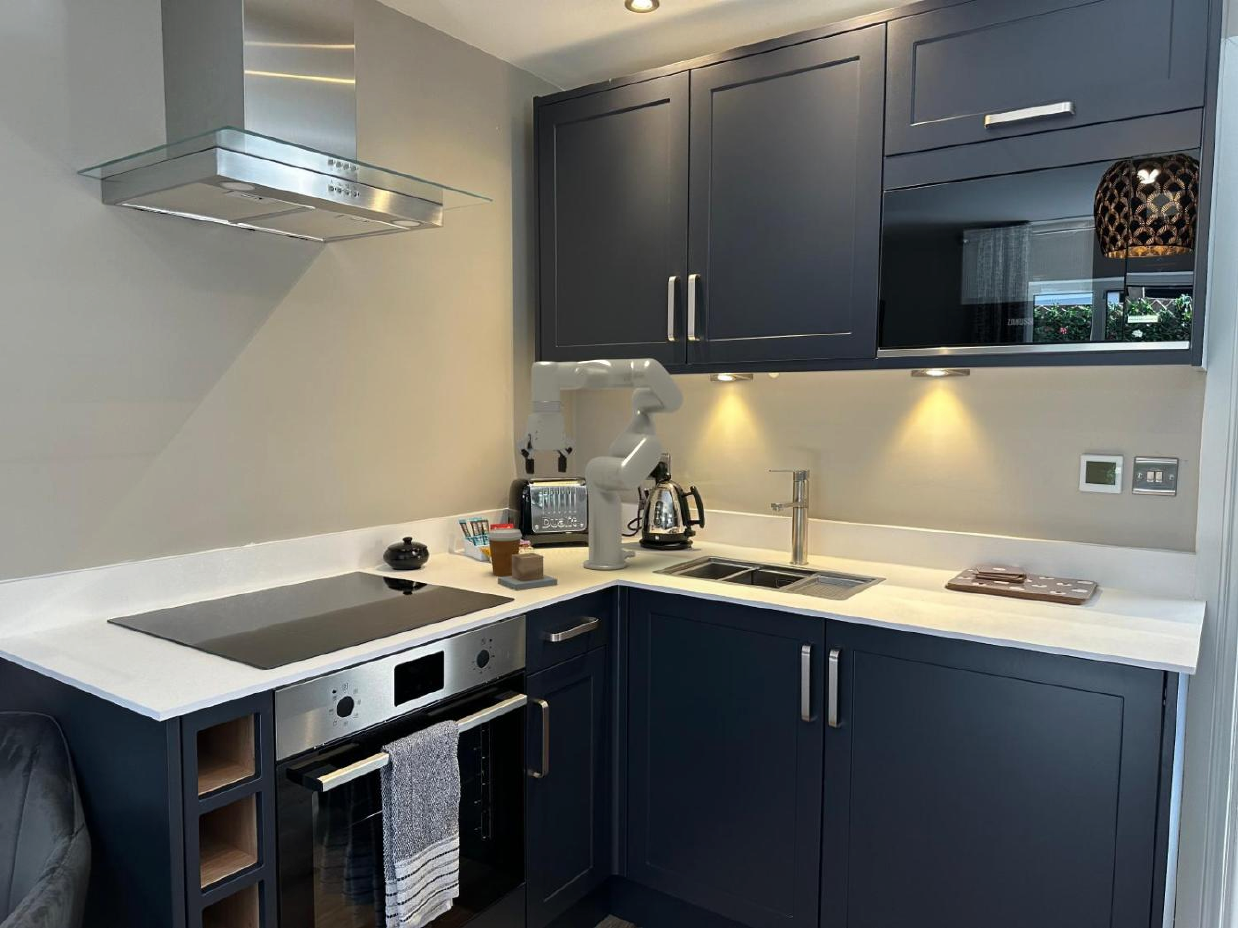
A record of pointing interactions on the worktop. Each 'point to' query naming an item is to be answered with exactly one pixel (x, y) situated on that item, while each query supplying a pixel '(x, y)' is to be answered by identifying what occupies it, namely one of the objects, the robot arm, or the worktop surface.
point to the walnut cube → (527, 567)
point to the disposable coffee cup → (503, 549)
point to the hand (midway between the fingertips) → (546, 473)
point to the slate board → (526, 582)
